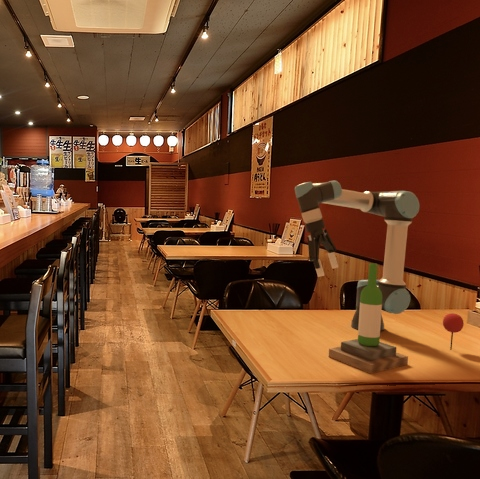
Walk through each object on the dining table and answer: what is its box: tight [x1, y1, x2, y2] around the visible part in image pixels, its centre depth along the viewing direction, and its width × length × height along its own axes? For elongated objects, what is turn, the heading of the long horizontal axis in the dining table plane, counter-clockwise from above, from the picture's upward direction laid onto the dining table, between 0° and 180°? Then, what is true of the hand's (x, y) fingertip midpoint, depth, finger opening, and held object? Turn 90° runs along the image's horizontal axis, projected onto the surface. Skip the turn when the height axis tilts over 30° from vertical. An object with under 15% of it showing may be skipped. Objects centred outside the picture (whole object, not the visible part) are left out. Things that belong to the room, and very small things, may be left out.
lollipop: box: [442, 313, 465, 351], centre depth 190 cm, size 8×8×15 cm
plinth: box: [328, 338, 409, 374], centre depth 171 cm, size 20×20×6 cm
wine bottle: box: [357, 262, 383, 347], centre depth 170 cm, size 8×8×30 cm
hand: (328, 272), depth 185 cm, fingers open, 13 cm apart
